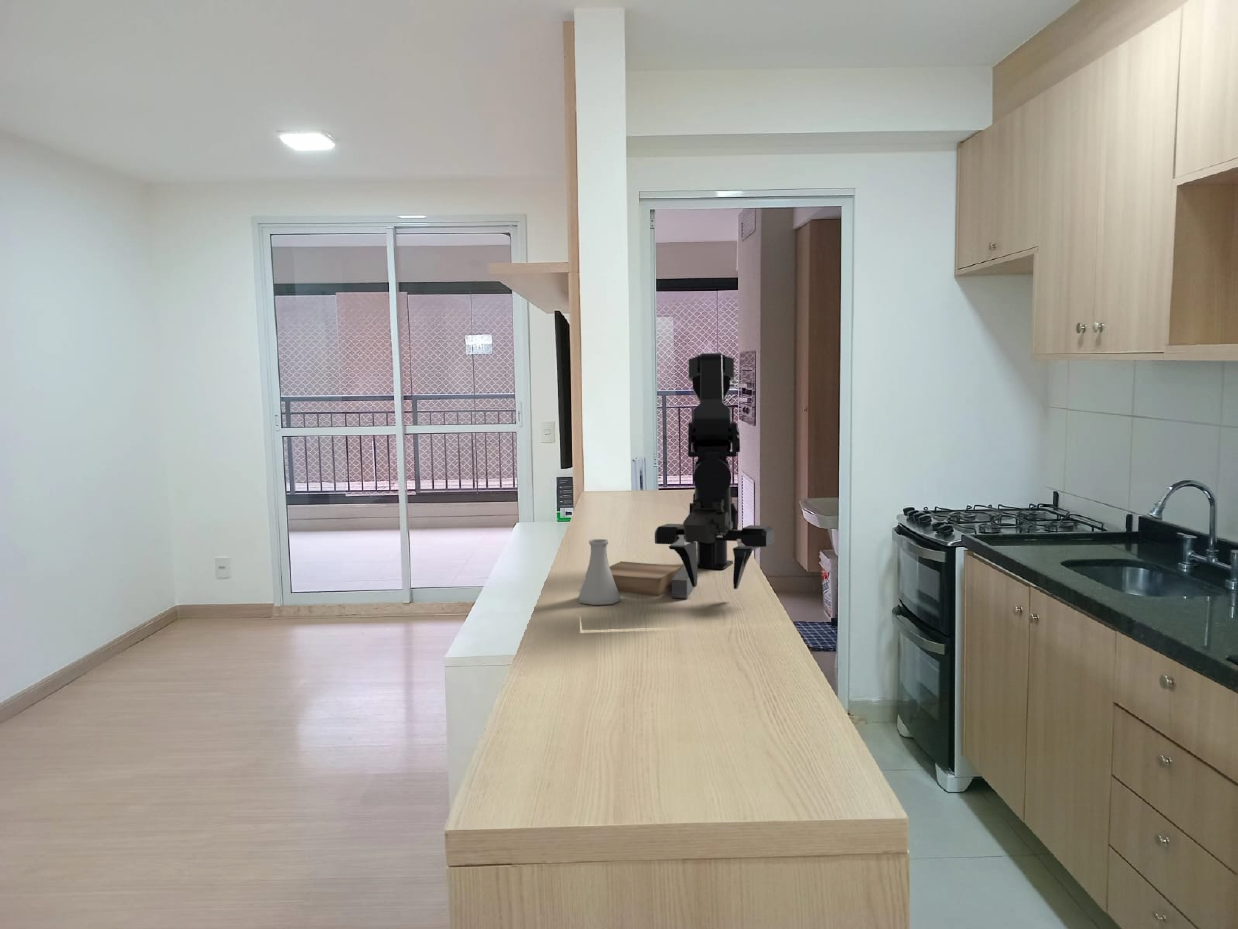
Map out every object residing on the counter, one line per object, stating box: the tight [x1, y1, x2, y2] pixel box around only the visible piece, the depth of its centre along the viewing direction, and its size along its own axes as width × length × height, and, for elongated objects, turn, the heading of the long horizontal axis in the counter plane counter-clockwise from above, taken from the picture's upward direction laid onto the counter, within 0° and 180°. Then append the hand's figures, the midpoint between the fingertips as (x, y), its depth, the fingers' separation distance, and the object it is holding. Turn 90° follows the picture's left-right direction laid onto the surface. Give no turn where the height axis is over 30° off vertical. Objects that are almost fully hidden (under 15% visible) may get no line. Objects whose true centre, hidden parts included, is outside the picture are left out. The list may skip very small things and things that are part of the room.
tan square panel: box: [609, 561, 684, 597], centre depth 149 cm, size 11×12×3 cm
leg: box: [671, 565, 695, 599], centre depth 146 cm, size 12×2×3 cm, turn 166°
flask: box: [577, 538, 622, 606], centre depth 139 cm, size 7×7×10 cm
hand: (715, 587), depth 140 cm, fingers open, 7 cm apart
